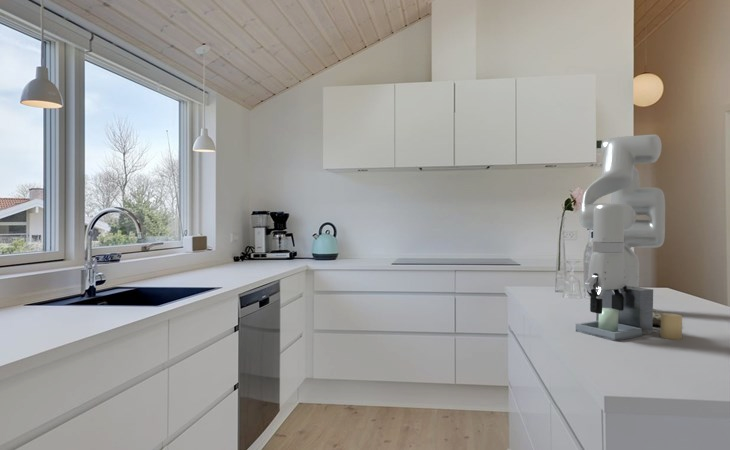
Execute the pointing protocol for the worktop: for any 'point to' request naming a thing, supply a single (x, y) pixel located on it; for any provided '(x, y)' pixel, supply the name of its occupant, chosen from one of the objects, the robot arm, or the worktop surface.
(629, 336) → the tray
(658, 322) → the rock
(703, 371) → the worktop surface
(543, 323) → the worktop surface
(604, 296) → the panel
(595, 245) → the robot arm
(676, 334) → the tan rounded capsule
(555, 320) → the worktop surface
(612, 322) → the mint green rounded cylinder
